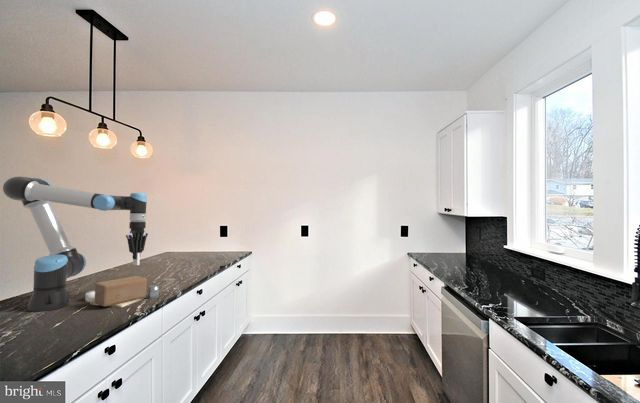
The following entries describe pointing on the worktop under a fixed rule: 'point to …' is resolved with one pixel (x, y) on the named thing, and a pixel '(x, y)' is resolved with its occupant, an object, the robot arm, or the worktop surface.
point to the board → (121, 303)
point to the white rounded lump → (90, 296)
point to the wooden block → (120, 290)
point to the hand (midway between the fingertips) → (136, 264)
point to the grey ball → (153, 292)
